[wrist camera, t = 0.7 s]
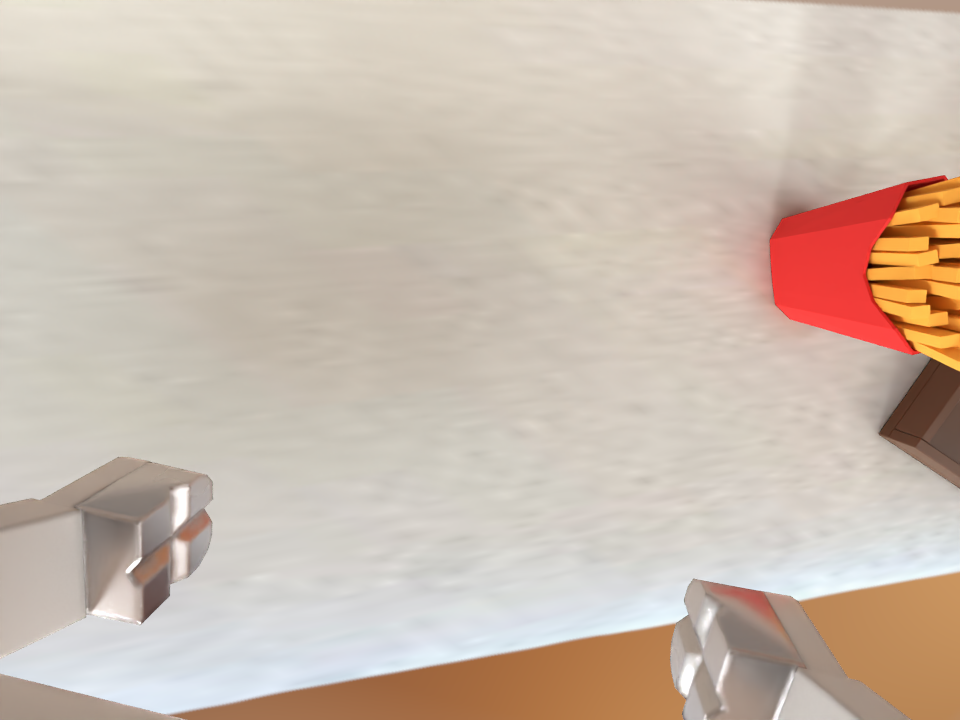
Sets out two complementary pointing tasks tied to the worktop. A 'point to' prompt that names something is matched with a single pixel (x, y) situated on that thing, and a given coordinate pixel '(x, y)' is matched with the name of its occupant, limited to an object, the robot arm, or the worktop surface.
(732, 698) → the robot arm
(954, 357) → the french fries
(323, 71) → the worktop surface
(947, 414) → the serving tray
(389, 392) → the worktop surface
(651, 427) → the worktop surface
